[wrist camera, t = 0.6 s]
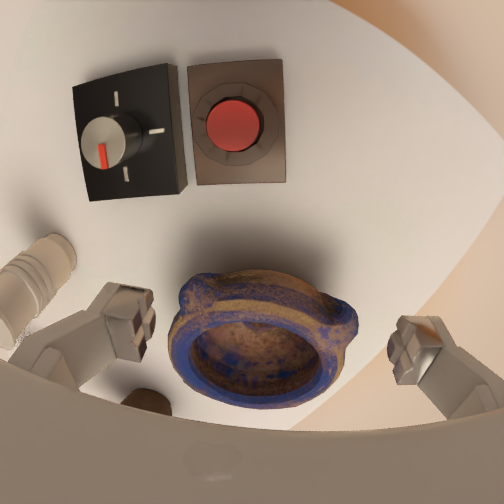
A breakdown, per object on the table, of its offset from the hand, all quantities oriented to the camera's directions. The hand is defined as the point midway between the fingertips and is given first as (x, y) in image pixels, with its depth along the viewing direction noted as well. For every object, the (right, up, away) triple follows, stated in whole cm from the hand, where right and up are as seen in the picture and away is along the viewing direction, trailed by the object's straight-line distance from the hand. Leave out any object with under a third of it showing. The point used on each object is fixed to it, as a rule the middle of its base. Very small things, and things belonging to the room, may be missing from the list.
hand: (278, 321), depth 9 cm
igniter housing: (-2, +14, +17) cm, 22 cm away
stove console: (-12, +14, +18) cm, 26 cm away
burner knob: (-13, +13, +15) cm, 23 cm away
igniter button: (-2, +12, +14) cm, 19 cm away
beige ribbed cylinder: (-26, +2, +25) cm, 37 cm away
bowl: (0, -5, +27) cm, 27 cm away
